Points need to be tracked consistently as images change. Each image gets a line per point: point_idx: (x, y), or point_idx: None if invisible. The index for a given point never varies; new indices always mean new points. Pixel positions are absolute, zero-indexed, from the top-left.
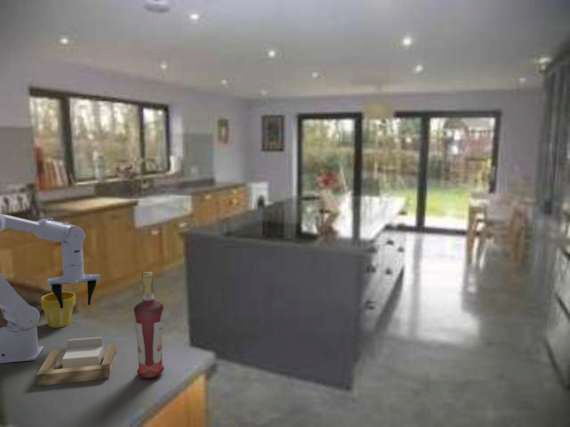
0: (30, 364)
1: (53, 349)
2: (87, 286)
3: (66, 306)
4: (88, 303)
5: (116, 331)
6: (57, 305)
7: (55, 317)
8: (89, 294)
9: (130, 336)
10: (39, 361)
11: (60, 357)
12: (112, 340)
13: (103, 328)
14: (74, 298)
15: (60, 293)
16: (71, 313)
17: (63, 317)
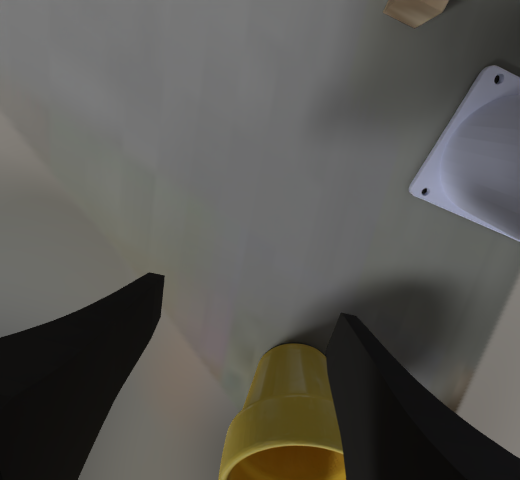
0: (515, 31)
1: (437, 4)
2: (15, 394)
3: (276, 406)
4: (154, 279)
5: (102, 188)
6: (321, 421)
7: (320, 376)
8: (95, 319)
9: (39, 89)
10: (471, 43)
11: (385, 9)
12: (124, 92)
13: (152, 249)
14: (228, 453)
15: (416, 419)
16: (252, 386)
17: (289, 368)
